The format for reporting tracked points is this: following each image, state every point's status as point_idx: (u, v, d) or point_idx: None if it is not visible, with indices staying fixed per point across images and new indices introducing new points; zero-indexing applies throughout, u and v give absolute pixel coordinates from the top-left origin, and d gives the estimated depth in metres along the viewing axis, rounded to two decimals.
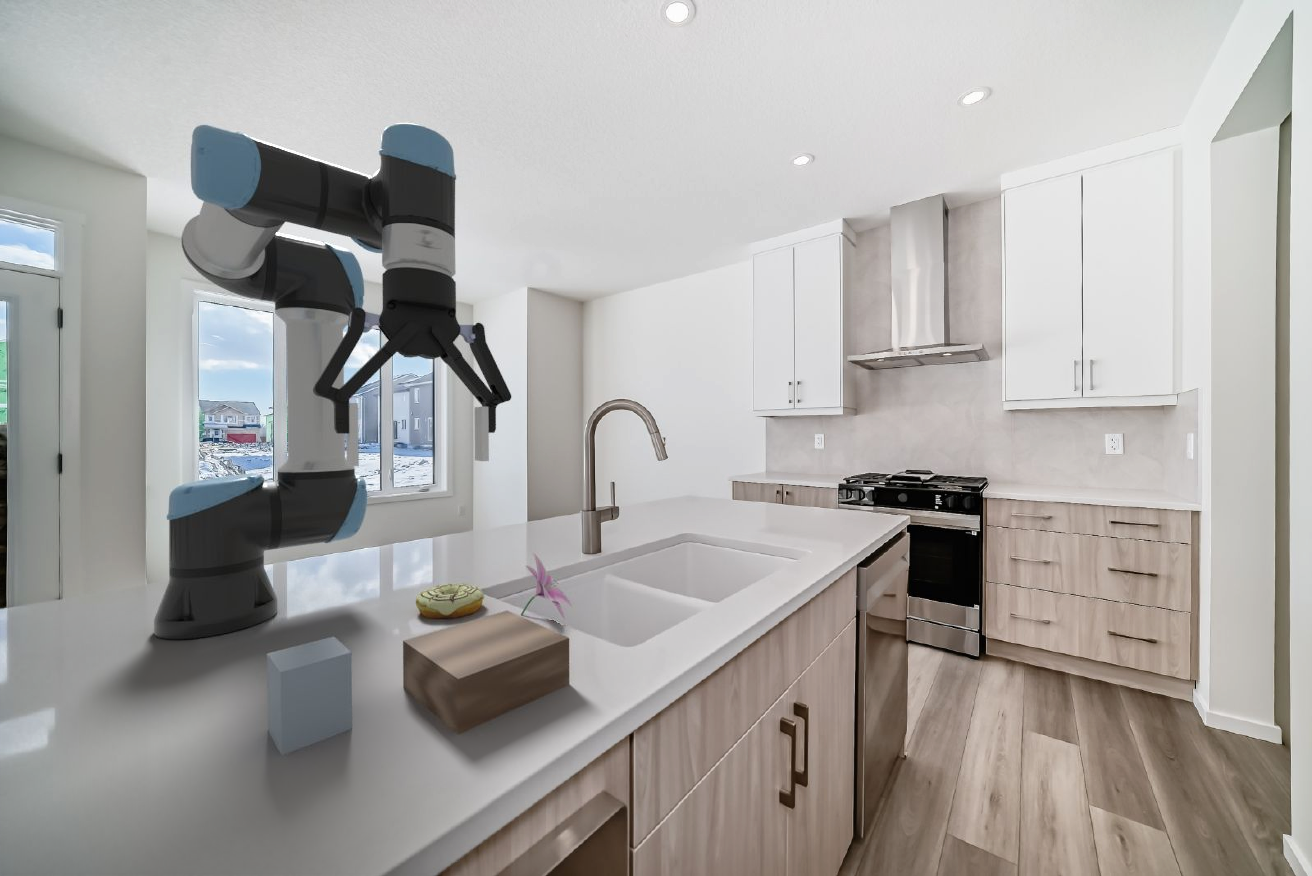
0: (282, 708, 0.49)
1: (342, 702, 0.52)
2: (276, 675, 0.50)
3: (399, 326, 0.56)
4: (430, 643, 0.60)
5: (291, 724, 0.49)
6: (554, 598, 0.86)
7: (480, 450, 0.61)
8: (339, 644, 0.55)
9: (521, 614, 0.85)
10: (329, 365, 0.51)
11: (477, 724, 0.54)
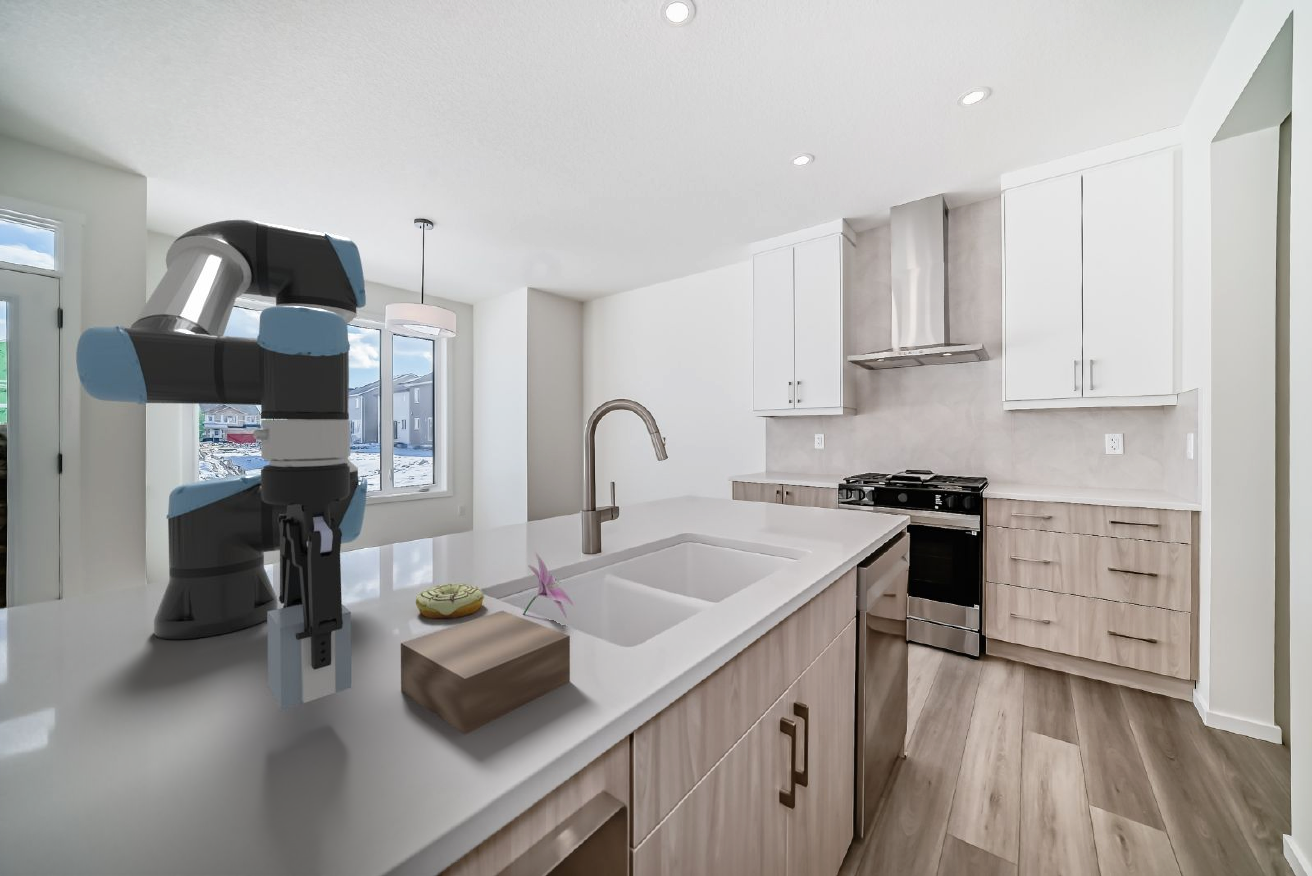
0: (282, 663, 0.49)
1: (341, 660, 0.53)
2: (276, 631, 0.50)
3: (289, 518, 0.53)
4: (429, 645, 0.60)
5: (290, 679, 0.50)
6: (556, 598, 0.86)
7: None
8: None
9: (523, 614, 0.86)
10: (280, 575, 0.56)
11: (483, 723, 0.54)
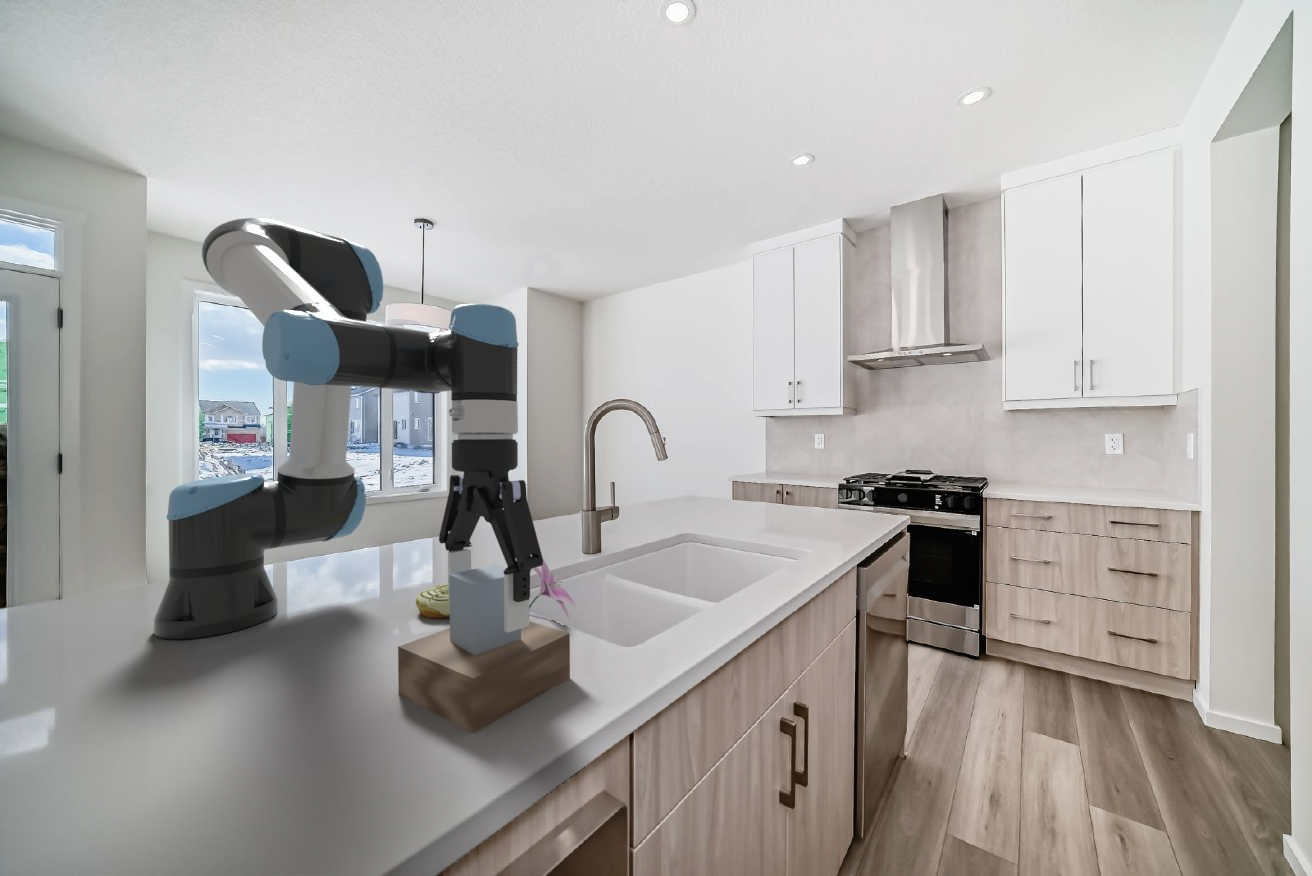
0: (474, 615, 0.58)
1: None
2: (465, 589, 0.59)
3: None
4: (429, 647, 0.60)
5: (480, 629, 0.58)
6: (558, 597, 0.87)
7: None
8: None
9: None
10: (443, 521, 0.67)
11: (490, 722, 0.54)
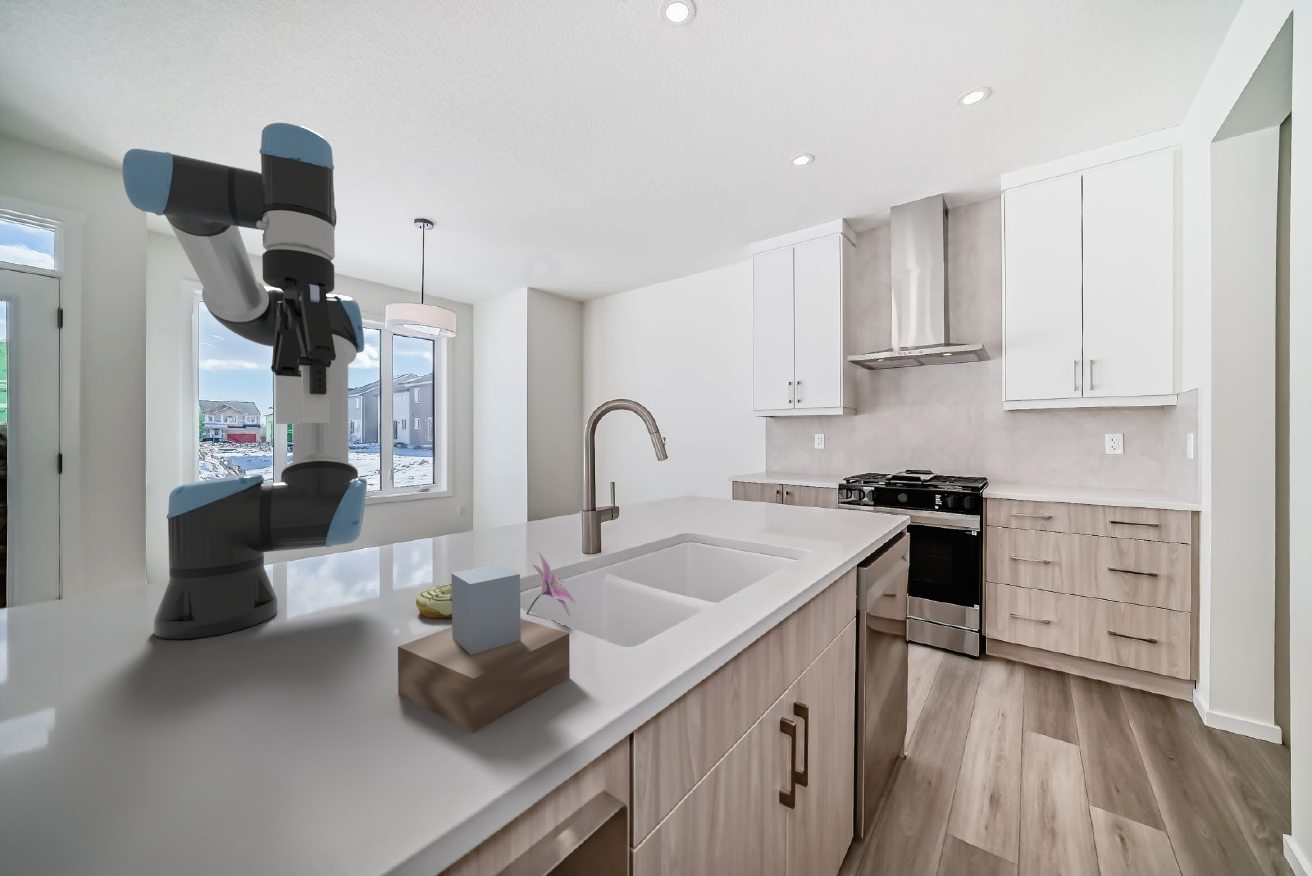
0: (471, 615, 0.58)
1: (513, 616, 0.61)
2: (464, 588, 0.59)
3: None
4: (429, 647, 0.60)
5: (477, 629, 0.58)
6: (559, 597, 0.87)
7: None
8: (506, 569, 0.64)
9: (527, 613, 0.86)
10: (273, 349, 0.71)
11: (490, 722, 0.54)
